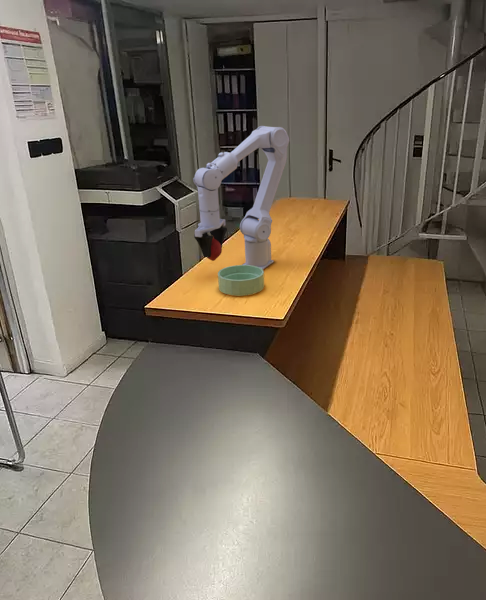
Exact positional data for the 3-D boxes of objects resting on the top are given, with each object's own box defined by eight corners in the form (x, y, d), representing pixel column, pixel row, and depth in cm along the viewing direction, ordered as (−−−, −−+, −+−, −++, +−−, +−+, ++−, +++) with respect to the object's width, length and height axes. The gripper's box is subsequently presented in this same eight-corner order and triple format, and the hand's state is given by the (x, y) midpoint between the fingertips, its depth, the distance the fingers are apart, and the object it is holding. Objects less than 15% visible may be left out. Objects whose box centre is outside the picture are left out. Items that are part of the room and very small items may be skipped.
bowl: (225, 279, 148) (224, 264, 147) (267, 281, 147) (267, 265, 145) (213, 295, 136) (212, 279, 134) (259, 298, 135) (258, 281, 133)
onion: (218, 264, 146) (217, 238, 143) (200, 263, 147) (198, 237, 144) (224, 258, 151) (223, 233, 148) (207, 257, 152) (205, 232, 149)
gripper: (210, 204, 151) (213, 245, 156) (184, 214, 138) (188, 259, 144) (230, 205, 148) (232, 248, 153) (205, 216, 136) (208, 262, 141)
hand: (212, 253), depth 148 cm, fingers closed on onion, 6 cm apart
